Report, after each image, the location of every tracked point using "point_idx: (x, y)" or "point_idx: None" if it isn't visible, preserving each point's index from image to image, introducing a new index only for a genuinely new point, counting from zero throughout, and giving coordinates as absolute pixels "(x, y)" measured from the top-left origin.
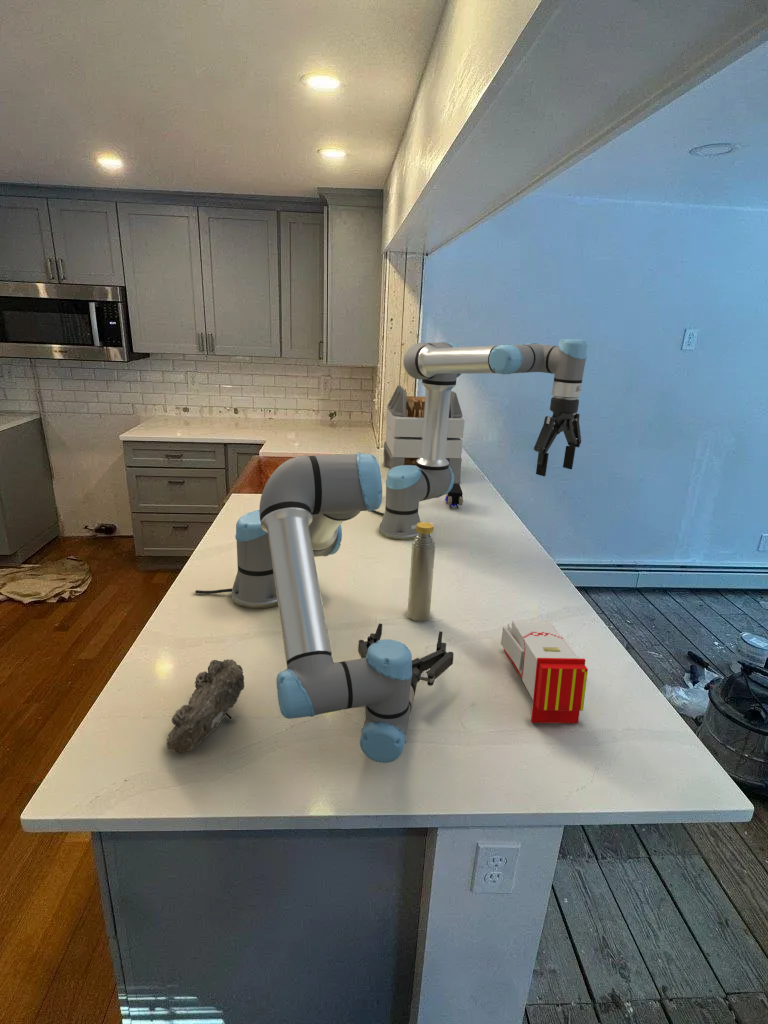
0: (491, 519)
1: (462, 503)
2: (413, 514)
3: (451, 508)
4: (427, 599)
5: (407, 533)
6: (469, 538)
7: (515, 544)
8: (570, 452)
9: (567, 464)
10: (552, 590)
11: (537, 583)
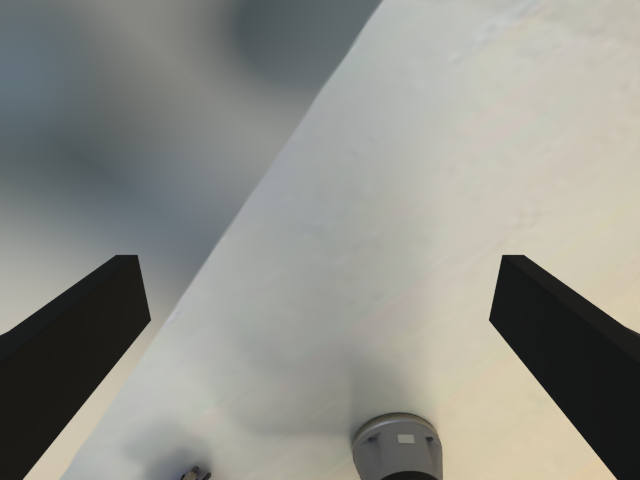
0: (170, 400)
1: (191, 473)
2: (409, 469)
3: (208, 473)
4: None
5: (420, 429)
6: (300, 362)
7: (235, 290)
8: (36, 379)
9: (126, 305)
10: (380, 79)
11: (375, 127)
